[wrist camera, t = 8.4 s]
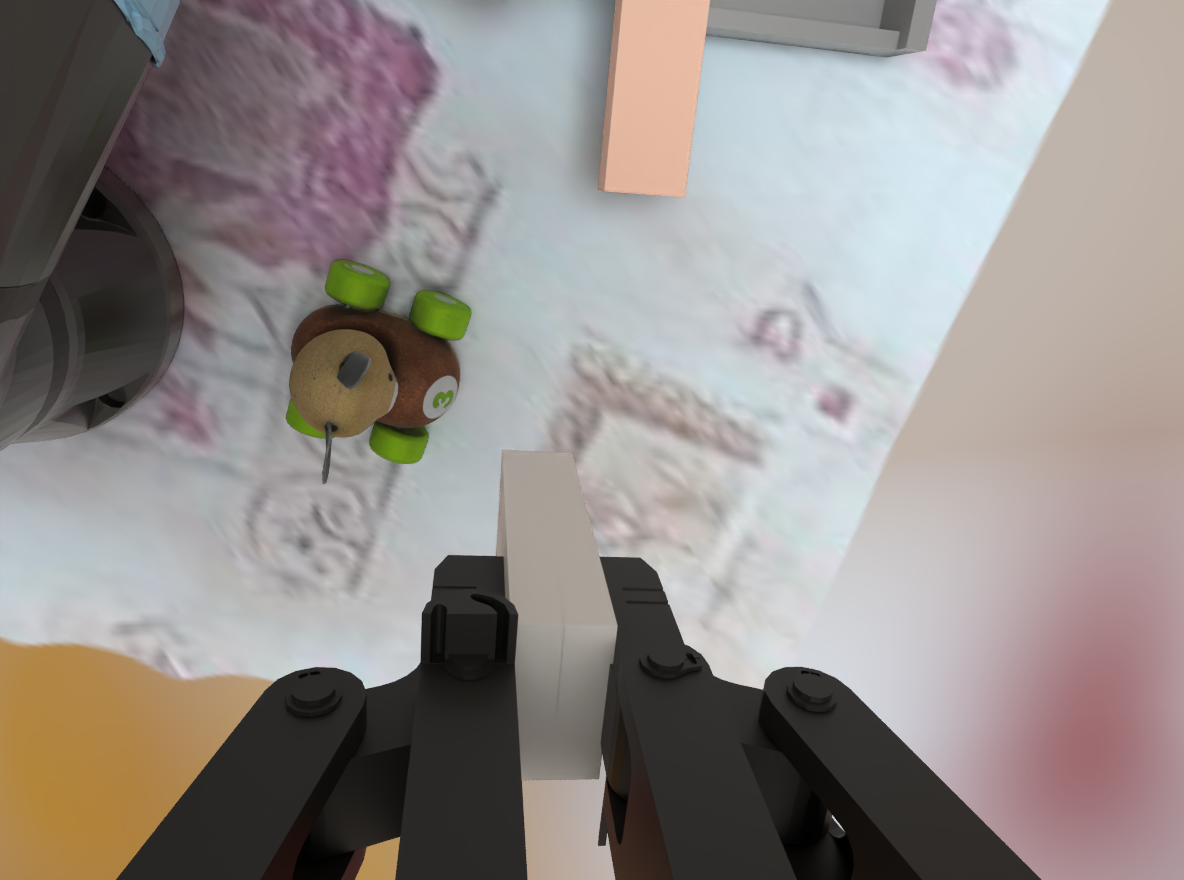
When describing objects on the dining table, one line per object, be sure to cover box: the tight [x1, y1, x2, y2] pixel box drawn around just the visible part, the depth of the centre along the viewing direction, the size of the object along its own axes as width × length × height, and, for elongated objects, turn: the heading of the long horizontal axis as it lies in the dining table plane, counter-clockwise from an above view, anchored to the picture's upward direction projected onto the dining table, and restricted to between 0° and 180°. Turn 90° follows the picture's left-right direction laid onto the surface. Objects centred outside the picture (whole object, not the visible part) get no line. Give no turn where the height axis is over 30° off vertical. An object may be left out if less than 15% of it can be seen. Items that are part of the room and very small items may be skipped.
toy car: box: [286, 260, 471, 484], centre depth 40 cm, size 9×9×11 cm
